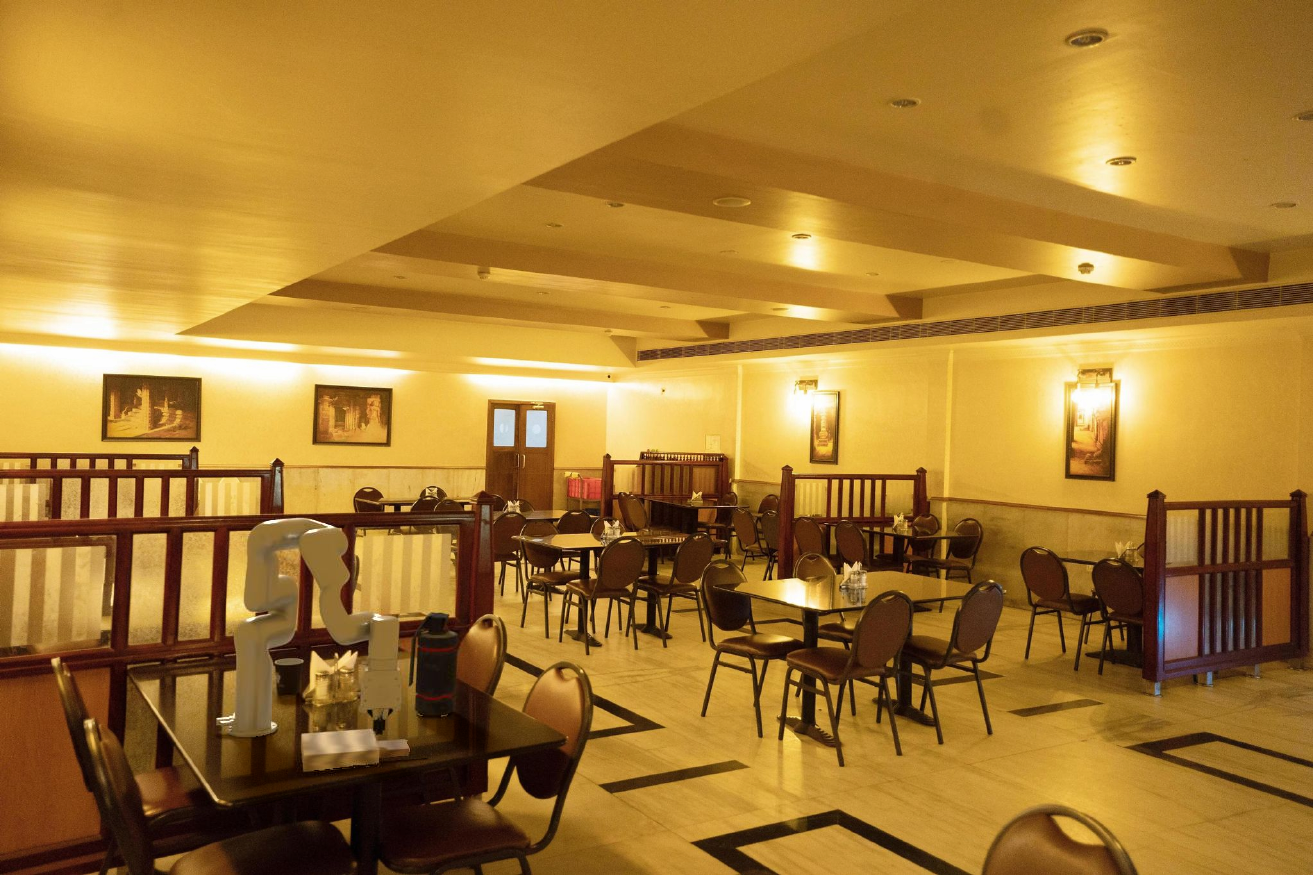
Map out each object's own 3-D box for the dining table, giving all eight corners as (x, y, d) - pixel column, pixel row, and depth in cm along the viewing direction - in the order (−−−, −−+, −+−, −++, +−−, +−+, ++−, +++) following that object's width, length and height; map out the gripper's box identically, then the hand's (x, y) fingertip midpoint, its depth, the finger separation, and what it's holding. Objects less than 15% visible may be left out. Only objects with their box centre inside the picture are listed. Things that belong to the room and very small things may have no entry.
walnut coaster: (377, 758, 248) (377, 750, 248) (374, 748, 256) (374, 741, 256) (409, 755, 251) (409, 748, 251) (405, 746, 259) (405, 738, 259)
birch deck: (303, 771, 238) (304, 755, 238) (300, 748, 254) (301, 733, 254) (378, 765, 244) (379, 749, 244) (371, 743, 261) (372, 728, 261)
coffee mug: (302, 695, 304) (303, 664, 304) (273, 697, 301) (274, 665, 301) (301, 686, 315) (302, 655, 315) (273, 687, 312) (274, 657, 312)
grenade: (457, 708, 298) (462, 611, 298) (450, 719, 286) (455, 618, 286) (412, 706, 297) (417, 609, 298) (404, 717, 286) (408, 616, 286)
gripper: (354, 668, 247) (350, 739, 247) (413, 666, 253) (409, 736, 253) (351, 661, 254) (347, 730, 254) (409, 659, 260) (405, 727, 260)
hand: (378, 733), depth 253 cm, fingers closed
